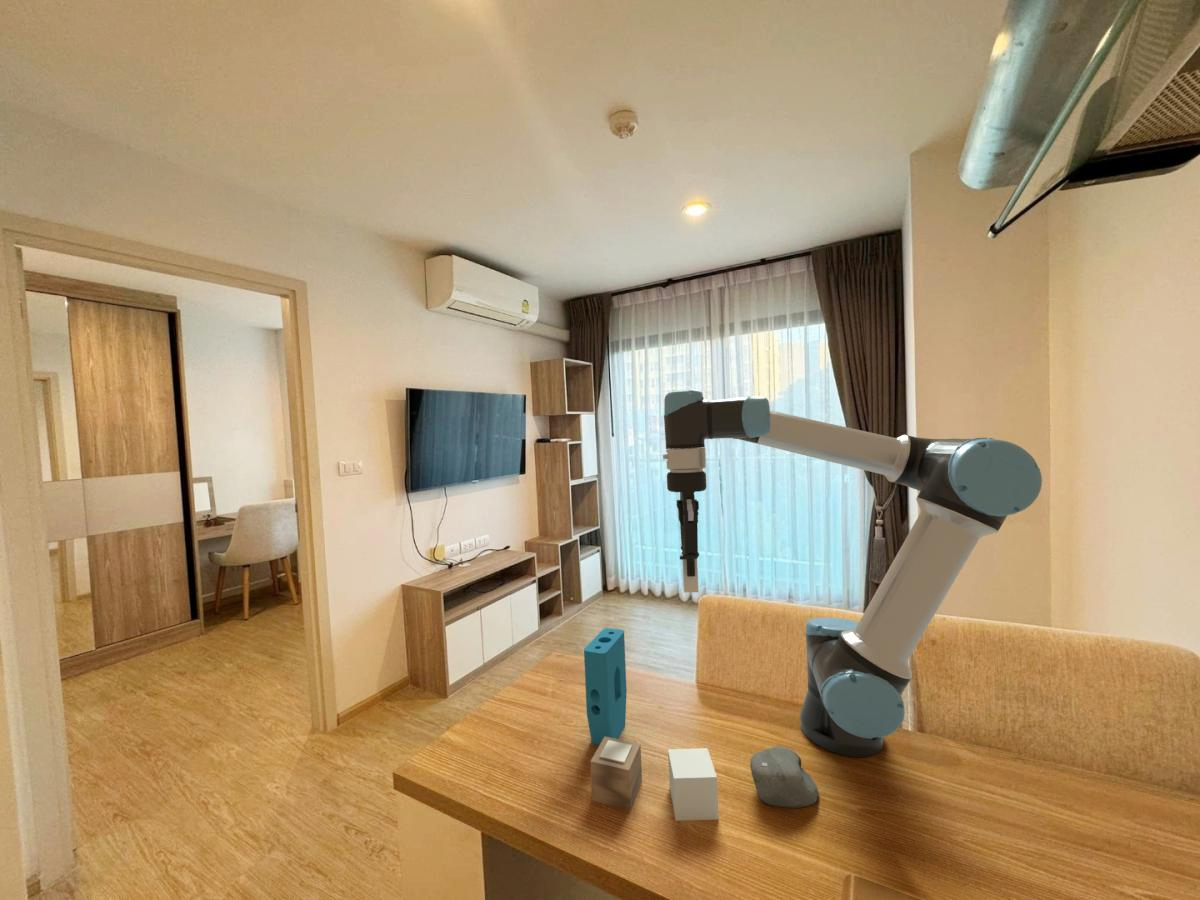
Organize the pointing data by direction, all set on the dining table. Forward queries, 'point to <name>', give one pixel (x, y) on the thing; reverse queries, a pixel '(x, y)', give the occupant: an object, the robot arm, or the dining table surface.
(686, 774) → the plain block
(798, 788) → the stone
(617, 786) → the marked block
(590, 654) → the block
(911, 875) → the dining table surface
